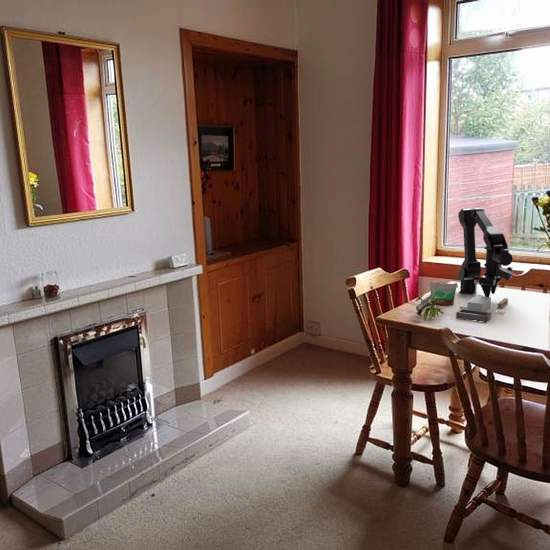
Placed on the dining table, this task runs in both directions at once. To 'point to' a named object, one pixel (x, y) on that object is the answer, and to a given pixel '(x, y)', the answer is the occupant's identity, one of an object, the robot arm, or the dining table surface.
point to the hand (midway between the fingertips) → (490, 296)
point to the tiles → (496, 311)
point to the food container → (443, 293)
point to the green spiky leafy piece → (426, 303)
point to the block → (479, 303)
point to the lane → (501, 302)
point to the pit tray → (473, 315)
